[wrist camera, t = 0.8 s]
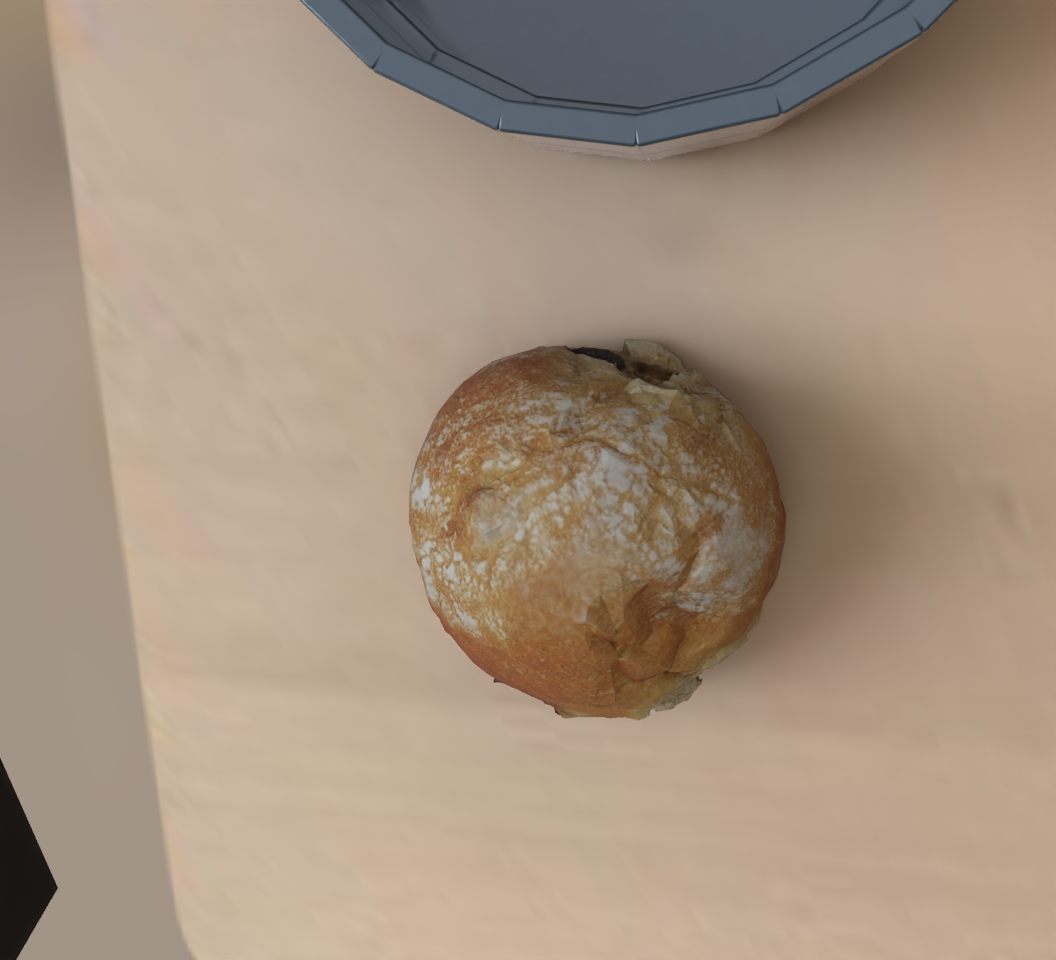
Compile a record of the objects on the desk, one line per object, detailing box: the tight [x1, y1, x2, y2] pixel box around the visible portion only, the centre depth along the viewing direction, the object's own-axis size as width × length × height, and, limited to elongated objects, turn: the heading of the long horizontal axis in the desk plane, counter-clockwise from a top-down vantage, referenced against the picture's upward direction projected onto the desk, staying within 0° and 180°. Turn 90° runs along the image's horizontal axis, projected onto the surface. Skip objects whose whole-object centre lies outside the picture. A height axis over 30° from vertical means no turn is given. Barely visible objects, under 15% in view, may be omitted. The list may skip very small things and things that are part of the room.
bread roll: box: [409, 339, 786, 720], centre depth 26 cm, size 10×10×8 cm
